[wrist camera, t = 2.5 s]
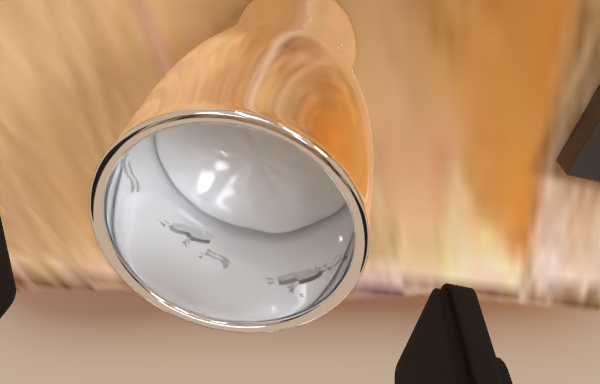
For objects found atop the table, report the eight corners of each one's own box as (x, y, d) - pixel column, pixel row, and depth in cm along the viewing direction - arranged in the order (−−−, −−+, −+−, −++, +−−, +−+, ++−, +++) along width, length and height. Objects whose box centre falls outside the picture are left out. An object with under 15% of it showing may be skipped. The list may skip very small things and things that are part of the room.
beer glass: (336, 130, 25) (320, 366, 13) (213, 89, 25) (73, 296, 12) (387, 2, 22) (435, 164, 9) (244, -50, 21) (84, 48, 8)
